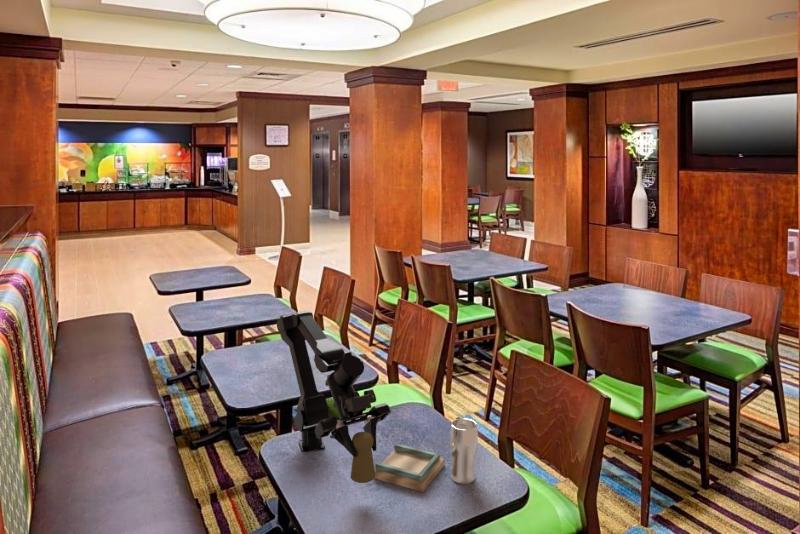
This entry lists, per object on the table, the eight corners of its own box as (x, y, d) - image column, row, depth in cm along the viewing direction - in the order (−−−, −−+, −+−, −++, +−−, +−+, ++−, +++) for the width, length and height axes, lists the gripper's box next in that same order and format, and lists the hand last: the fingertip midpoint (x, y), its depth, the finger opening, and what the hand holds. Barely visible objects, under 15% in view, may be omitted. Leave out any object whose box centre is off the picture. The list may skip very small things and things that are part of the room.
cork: (372, 484, 141) (371, 441, 138) (347, 481, 142) (346, 439, 140) (377, 470, 147) (377, 429, 144) (354, 468, 148) (353, 427, 145)
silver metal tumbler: (461, 467, 159) (462, 415, 156) (482, 477, 154) (483, 424, 151) (443, 477, 154) (444, 423, 151) (464, 488, 149) (466, 433, 146)
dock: (373, 478, 153) (373, 465, 153) (397, 453, 166) (397, 441, 165) (423, 492, 147) (423, 479, 147) (444, 465, 160) (444, 453, 159)
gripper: (318, 388, 138) (341, 453, 131) (387, 372, 148) (411, 431, 141) (305, 407, 146) (326, 469, 139) (371, 391, 156) (393, 447, 149)
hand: (365, 453), depth 142 cm, fingers closed on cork, 5 cm apart
